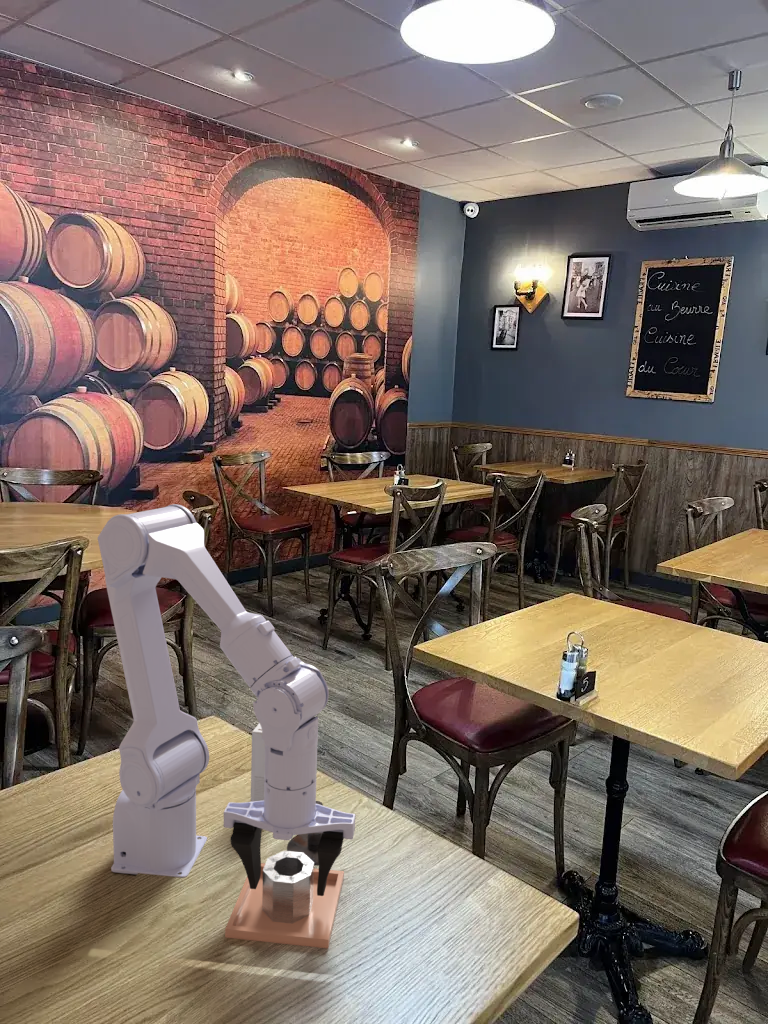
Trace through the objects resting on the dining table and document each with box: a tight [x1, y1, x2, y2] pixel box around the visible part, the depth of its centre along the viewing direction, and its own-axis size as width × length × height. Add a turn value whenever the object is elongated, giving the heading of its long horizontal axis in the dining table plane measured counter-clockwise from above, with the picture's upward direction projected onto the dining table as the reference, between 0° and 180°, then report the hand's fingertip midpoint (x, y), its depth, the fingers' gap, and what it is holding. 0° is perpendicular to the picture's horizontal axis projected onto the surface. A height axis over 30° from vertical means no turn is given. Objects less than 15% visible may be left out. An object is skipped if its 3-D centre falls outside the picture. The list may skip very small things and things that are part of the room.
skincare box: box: [250, 722, 265, 802], centre depth 105 cm, size 6×4×12 cm
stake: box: [286, 800, 343, 866], centre depth 95 cm, size 7×7×6 cm
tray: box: [224, 862, 345, 950], centre depth 85 cm, size 11×11×2 cm
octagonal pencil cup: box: [262, 850, 315, 924], centre depth 85 cm, size 5×5×5 cm
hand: (288, 886), depth 85 cm, fingers open, 7 cm apart
